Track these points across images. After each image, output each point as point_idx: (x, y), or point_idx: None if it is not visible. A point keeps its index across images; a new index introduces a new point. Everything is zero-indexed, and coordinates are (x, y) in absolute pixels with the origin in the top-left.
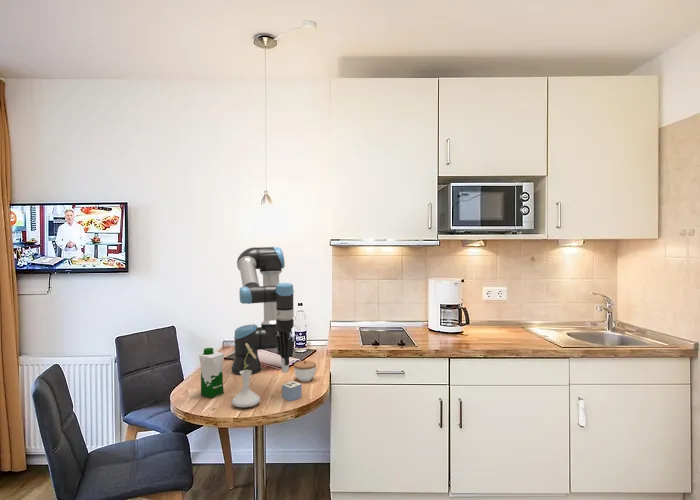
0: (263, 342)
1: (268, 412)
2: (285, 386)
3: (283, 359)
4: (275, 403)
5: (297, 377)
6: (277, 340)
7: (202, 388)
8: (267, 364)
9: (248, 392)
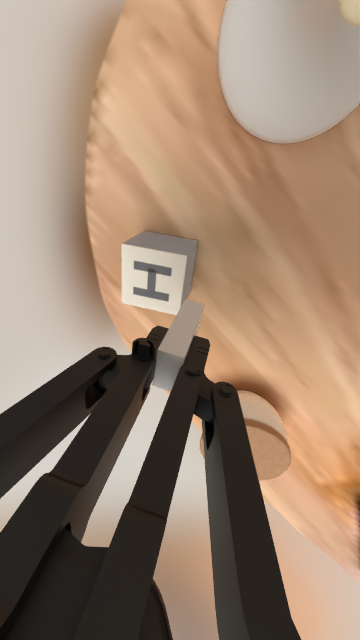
0: None
1: (126, 66)
2: (159, 249)
3: (163, 344)
4: (178, 176)
5: (255, 395)
6: (242, 549)
7: None
8: None
9: (280, 1)
